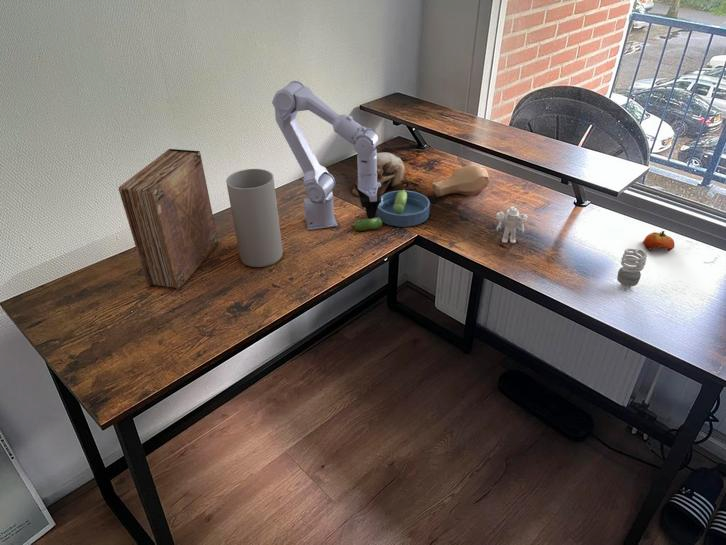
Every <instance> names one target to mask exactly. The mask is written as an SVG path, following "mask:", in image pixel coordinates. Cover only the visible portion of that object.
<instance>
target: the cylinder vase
mask: <svg viewBox="0 0 726 545" xmlns="http://www.w3.org/2000/svg"><path fill="white" fill-rule="evenodd" d="M225 182H226V188H227V194H228V198H229V199H228V200H229V205H230V210H231V216H232V222H233V227H234V232H235V237H236V238H235V239H236V244H237V248H238V254H239V259H240V261H241V262H242V263H243V264H244V265H246V266H248V267H253V268H264V267H269V266H272V265H274V264H276V263H277V262H278V261H280V260H281V259H282V257H283V255H284V249H283V243H282V235H281V226H280V225H281V224H280V219H279V210H278V202H277V195H276V186H275V178H274V174H273V172H271V171H269V170H266V169H262V168H246V169H242V170H238V171H235V172H233V173H231V174H229V175H228V177H227V178H226V180H225Z"/></svg>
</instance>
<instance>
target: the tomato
mask: <svg viewBox="0 0 726 545" xmlns="http://www.w3.org/2000/svg"><path fill="white" fill-rule="evenodd" d="M665 232H666V231H665V230H662V231H659V232H655V231H653V232H651V233H649V234H647V235H646V236H645V238H644V239H643V242H642V243H643V246H644V248H645V249H646V250H648V251H649V252H651V249H659V248H660V249H662V248H665V250H666V251H667V252H668V253H669V252H670V251H672V250H674V248H675V240H674V239H673V237H671V236H670V235H667V234H666V233H665Z"/></svg>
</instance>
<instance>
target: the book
mask: <svg viewBox="0 0 726 545" xmlns="http://www.w3.org/2000/svg"><path fill="white" fill-rule="evenodd" d="M201 155H202V154H201V150H192V149H191V150H190V149H178V148H177V149H176V148H168V149H167V150H166V151H164V152H163V153H162V154H160V155H159V156H158V157H156V158H155V159H154V160H152V162H150V163H149V164H147V165H146V166H145V167H143V168H142V169H141V170H139V171H138V172H137V173H136V174H134V175H132V176H131V177H130V178H129V179H127V180H126V181H125V182H123V183H122V184H121V185H120V186H118V192H119V196H120V199H121V202H122V206H123V209H124V212H125V216H126V219H127V223H128V226H129V230H130V232H131V235H132V239H133V243H134V246H135V249H136V252H137V256H138V259H139V262H140V266H141V270H142V273H143V276H144V280H145V283H146V286H147V287H148V288H150V287H151V286H152V285H153V286H159V287H167V288H175V289H176V291H180V290H181V289H182V287H183V286H184V285H185V284H186V282H187V281H188V280H189V279H190V278H191V277H192V275H193V274H194V273H195V271H197V269H198V268H199V266H200V265H202V263H203V262H204V261H205V259H207V257H208V256H209V255H210V253H212V251H213V250H214V249H215V248H216V246H217V245H218V244H219V238H218V233H217V229H216V223H215V218H214V214H213V208H212V204H211V199H210V193H209V190H208V185H207V180H206V174H205V170H204V164H203V160H202V156H201Z"/></svg>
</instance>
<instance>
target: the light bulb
mask: <svg viewBox="0 0 726 545" xmlns="http://www.w3.org/2000/svg"><path fill="white" fill-rule="evenodd" d="M647 258H648V254H647V252H646V251H645V250H643V249H641V248H625V250H624V253H623V254H622V257H621V261H620V265H621V266H622V267H620V268H619V269H618V271H617V277H616V280H617V282H618V283H619V284H620V287H621V288H622V289H624V290H629V289H631V288H632V287H634V286H635V287H636V286H637V285H638V284H639V282H640V279H641V276H642V273H641V272H642V271H643V270H644V268H645V266H646V262H647Z"/></svg>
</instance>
